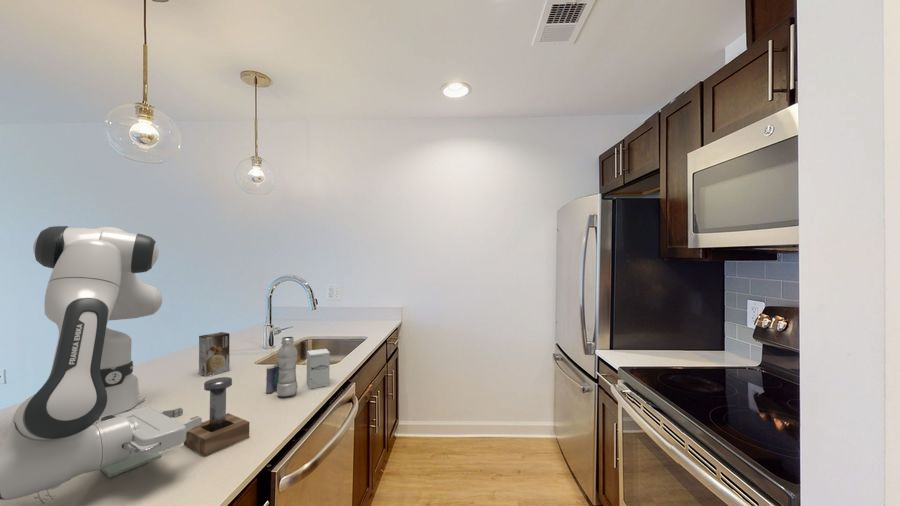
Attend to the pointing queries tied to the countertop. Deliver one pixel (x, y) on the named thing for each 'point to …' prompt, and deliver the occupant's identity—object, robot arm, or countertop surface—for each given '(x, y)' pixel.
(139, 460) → the coaster
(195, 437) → the walnut block
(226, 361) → the coffee box
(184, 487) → the countertop surface
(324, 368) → the supplement box
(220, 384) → the dark grey capped cylinder
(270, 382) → the flask
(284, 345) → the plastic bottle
